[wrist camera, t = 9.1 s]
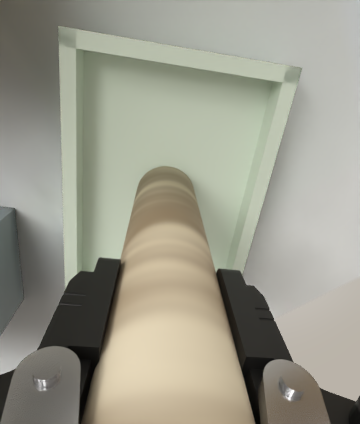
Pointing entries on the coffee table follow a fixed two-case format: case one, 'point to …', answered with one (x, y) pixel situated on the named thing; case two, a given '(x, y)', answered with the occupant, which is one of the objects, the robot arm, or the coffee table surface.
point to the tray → (164, 138)
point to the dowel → (167, 321)
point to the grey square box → (9, 267)
